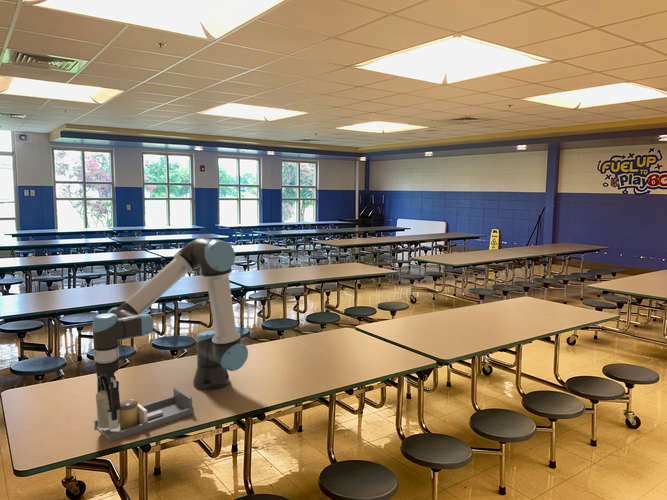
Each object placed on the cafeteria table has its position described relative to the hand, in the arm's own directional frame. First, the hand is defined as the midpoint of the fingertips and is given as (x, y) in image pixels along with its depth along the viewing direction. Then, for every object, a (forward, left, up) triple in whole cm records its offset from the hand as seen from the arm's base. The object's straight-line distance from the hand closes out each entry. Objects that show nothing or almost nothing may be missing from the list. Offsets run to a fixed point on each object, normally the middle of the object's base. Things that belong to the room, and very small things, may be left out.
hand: (109, 424), depth 162 cm
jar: (0, +6, -3) cm, 7 cm away
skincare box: (0, 0, -1) cm, 1 cm away
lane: (0, +12, -3) cm, 13 cm away
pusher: (0, +14, -2) cm, 14 cm away
